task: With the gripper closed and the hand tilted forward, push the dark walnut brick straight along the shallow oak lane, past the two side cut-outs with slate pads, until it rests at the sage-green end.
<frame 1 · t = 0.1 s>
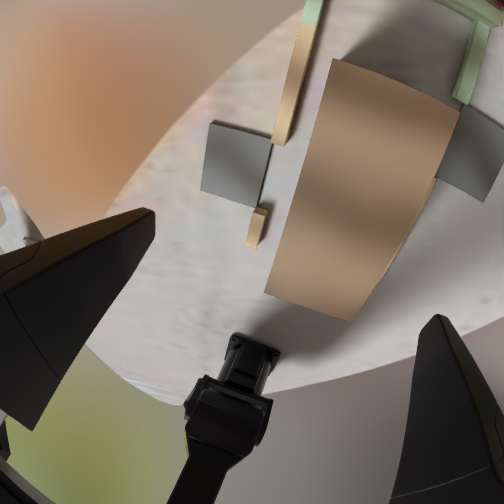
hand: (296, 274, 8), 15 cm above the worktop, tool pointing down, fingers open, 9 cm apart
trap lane: (365, 129, 18), on the worktop
walnut block: (351, 165, 20), on the worktop
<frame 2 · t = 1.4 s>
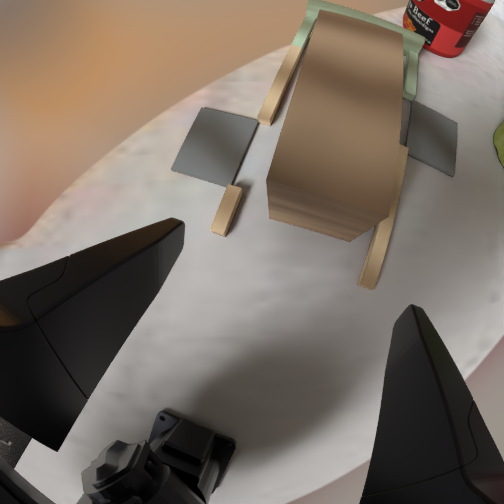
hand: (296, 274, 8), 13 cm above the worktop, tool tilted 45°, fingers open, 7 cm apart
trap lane: (339, 116, 22), on the worktop
canned food: (430, 37, 23), on the worktop
walnut block: (330, 146, 22), on the worktop
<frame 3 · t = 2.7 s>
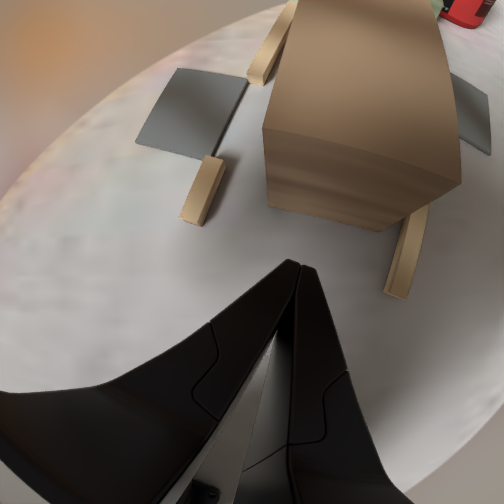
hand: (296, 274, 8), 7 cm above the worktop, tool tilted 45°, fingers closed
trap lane: (351, 76, 16), on the worktop
canned food: (445, 7, 17), on the worktop
walnut block: (341, 110, 16), on the worktop
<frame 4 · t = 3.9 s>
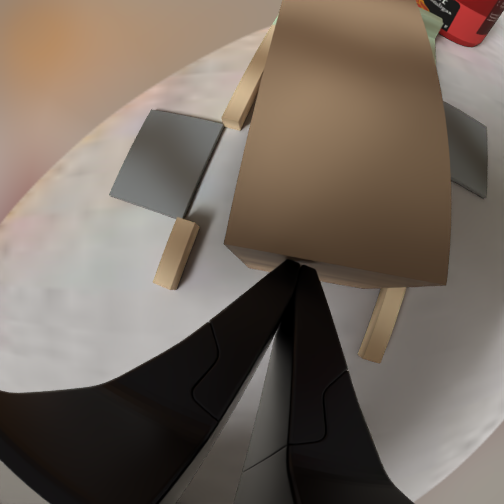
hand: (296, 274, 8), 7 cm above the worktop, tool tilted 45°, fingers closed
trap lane: (337, 115, 16), on the worktop
canned food: (445, 23, 17), on the worktop
walnut block: (326, 153, 16), on the worktop, touching gripper
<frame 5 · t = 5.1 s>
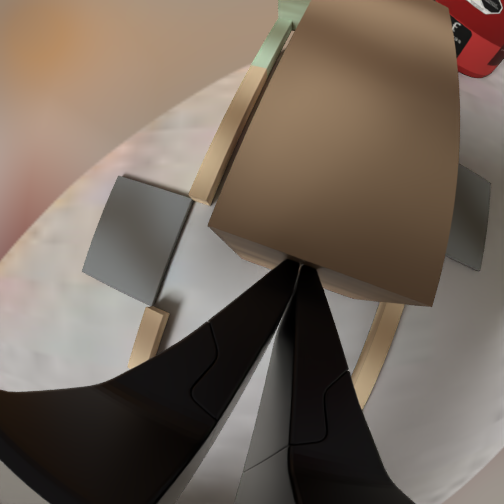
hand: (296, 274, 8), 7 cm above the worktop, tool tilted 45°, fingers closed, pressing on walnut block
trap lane: (319, 185, 15), on the worktop
canned food: (452, 48, 16), on the worktop
walnut block: (338, 157, 15), on the worktop, touching gripper
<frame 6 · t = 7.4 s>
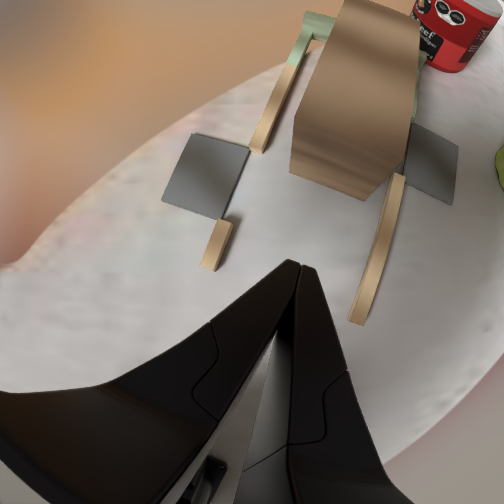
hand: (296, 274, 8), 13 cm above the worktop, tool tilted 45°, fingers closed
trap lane: (334, 142, 22), on the worktop
canned food: (432, 51, 22), on the worktop
walnut block: (349, 116, 22), on the worktop
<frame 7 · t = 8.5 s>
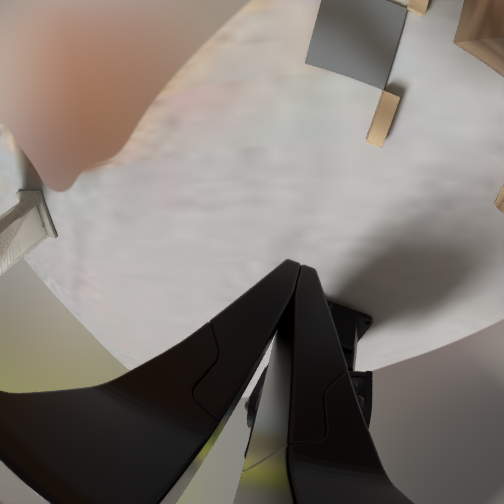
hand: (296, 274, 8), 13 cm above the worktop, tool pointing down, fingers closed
skyscraper: (37, 216, 33), on the worktop
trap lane: (496, 19, 8), on the worktop
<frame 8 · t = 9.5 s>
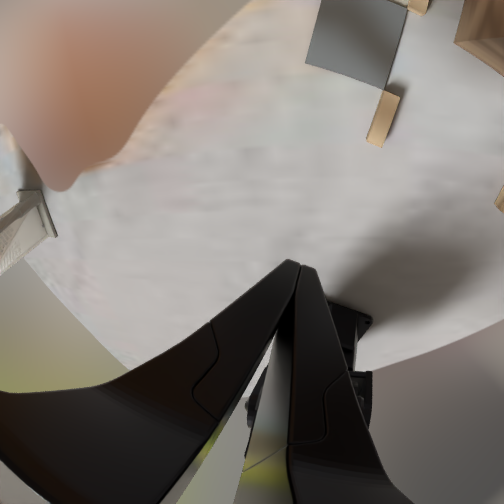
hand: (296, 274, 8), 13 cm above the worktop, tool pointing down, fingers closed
skyscraper: (37, 216, 33), on the worktop
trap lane: (496, 19, 8), on the worktop
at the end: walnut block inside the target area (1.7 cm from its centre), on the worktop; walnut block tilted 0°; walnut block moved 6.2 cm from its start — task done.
